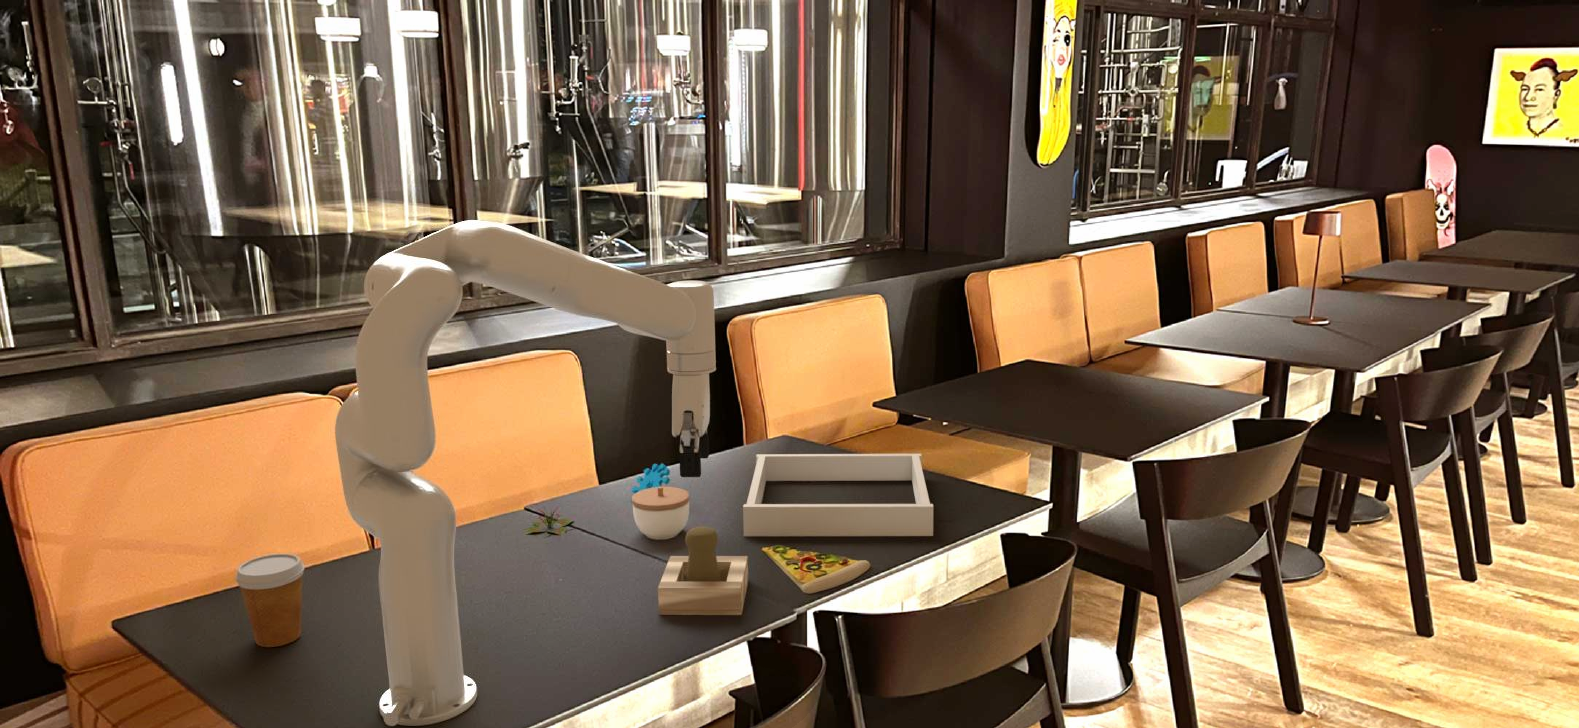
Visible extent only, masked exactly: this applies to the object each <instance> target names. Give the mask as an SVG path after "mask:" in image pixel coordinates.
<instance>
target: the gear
mask: <svg viewBox="0 0 1579 728" xmlns="http://www.w3.org/2000/svg"><path fill="white" fill-rule="evenodd" d="M643 473H644V478H643V477H642V476H638V477H637V478H636V482H637V483H638V484H639V486H636V485H634V486H633V487H632V489H631V493H633V495H634V494H635V493H637V492H639V491H641V490H644V489H648V488H654V487H663V486H662V484H663V483H664V484H665V485H669V483H670V480H671V478H670V477H668V476H669V475H670V474H671V470H670V469H669V468H668V467H667V465H665V464H664V463H660V464H657V463H653V464H652V466H651V469H650V468H649V467H648V468H644V469H643ZM633 495H631V497H630V498H631V499H630V500H631V501H632V496H633Z"/></svg>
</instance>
